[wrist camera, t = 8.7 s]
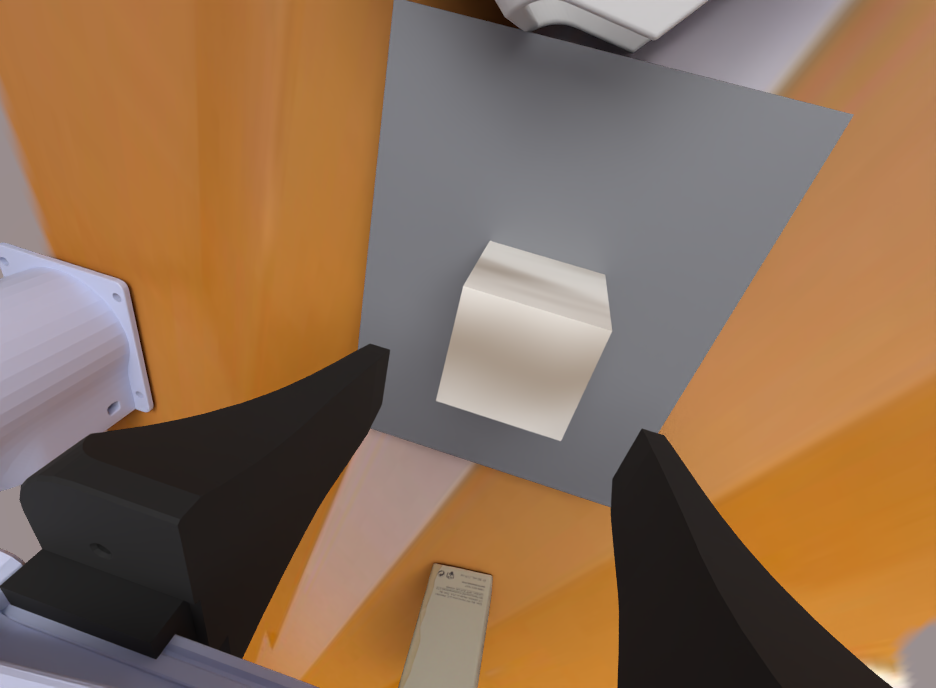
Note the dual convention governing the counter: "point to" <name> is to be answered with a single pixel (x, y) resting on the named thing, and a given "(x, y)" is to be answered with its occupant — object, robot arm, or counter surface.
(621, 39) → the cable organizer
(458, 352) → the ash cube
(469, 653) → the skincare box
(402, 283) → the base plate
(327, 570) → the counter surface
